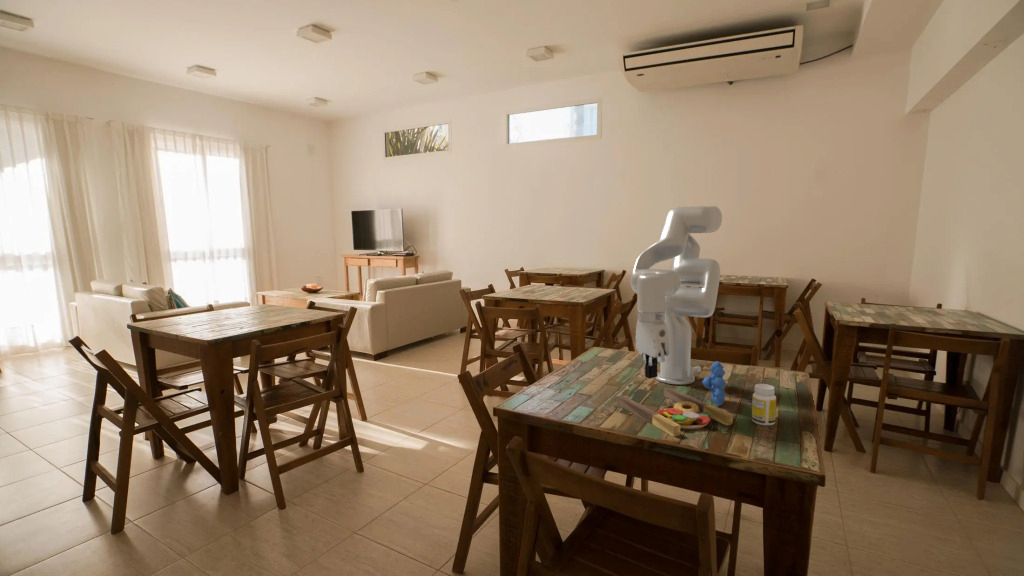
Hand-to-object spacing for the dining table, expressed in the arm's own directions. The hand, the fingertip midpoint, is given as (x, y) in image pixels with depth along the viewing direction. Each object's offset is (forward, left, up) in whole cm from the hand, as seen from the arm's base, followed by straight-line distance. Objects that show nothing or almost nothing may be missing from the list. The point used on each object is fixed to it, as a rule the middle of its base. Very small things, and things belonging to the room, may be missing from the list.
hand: (651, 376), depth 139 cm
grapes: (-16, +9, -8) cm, 19 cm away
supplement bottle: (-17, +25, -8) cm, 31 cm away
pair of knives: (+1, +11, -7) cm, 13 cm away
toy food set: (+2, +16, -8) cm, 18 cm away
